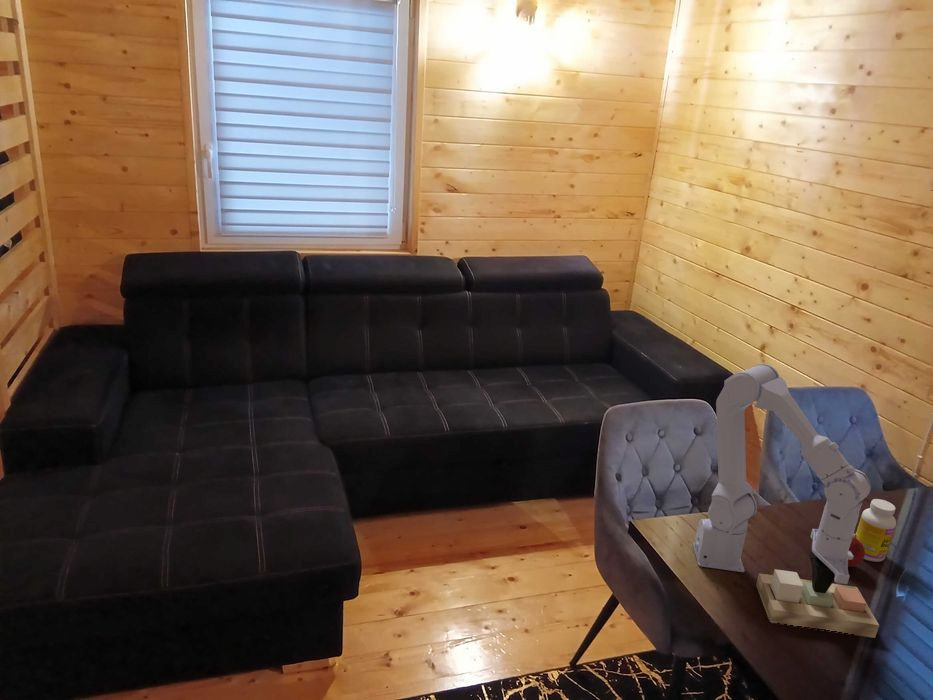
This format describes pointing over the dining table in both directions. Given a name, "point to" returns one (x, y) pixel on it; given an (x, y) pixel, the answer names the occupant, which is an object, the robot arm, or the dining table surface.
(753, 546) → the dining table surface
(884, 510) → the supplement bottle
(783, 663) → the dining table surface
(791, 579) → the cream key
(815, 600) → the sage key
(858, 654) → the dining table surface
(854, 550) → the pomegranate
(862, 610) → the salmon pink cube
